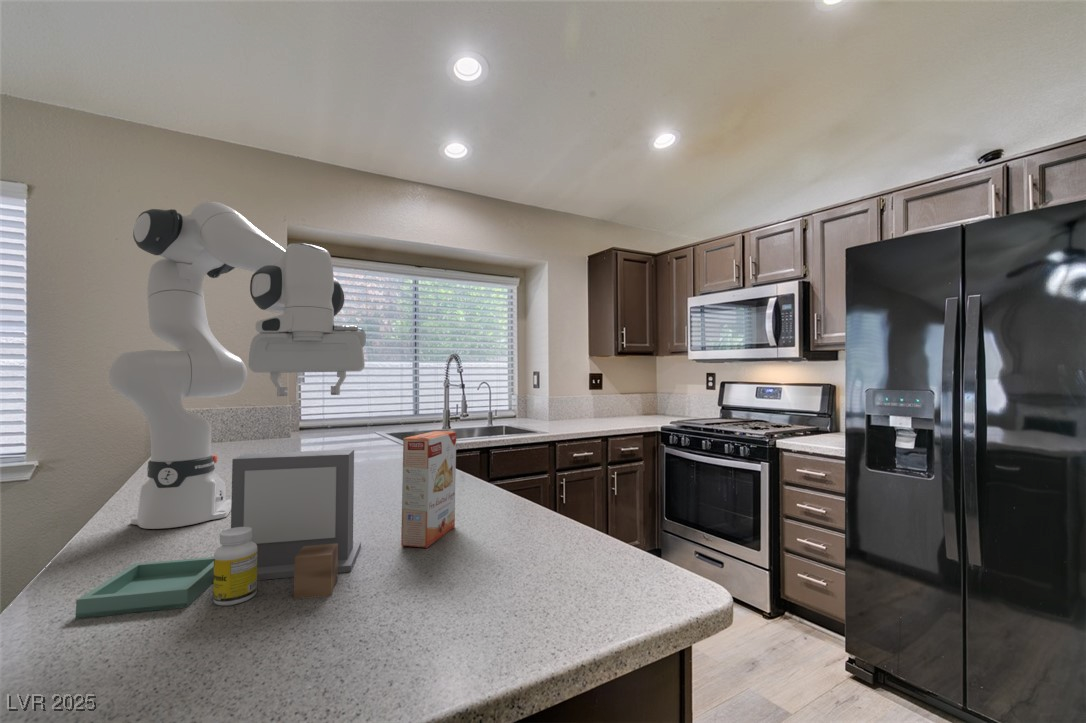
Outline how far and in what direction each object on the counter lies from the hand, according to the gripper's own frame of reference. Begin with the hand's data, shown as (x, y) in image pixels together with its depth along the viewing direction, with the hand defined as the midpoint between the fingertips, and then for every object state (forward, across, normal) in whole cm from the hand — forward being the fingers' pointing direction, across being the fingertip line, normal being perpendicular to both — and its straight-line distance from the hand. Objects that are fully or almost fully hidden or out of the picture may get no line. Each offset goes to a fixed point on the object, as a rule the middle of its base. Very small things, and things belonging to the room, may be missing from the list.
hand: (309, 395), depth 91 cm
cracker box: (+30, -23, 0) cm, 37 cm away
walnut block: (+30, -5, +20) cm, 36 cm away
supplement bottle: (+30, +6, +20) cm, 36 cm away
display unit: (+29, +1, +8) cm, 30 cm away
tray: (+29, +18, +14) cm, 37 cm away
